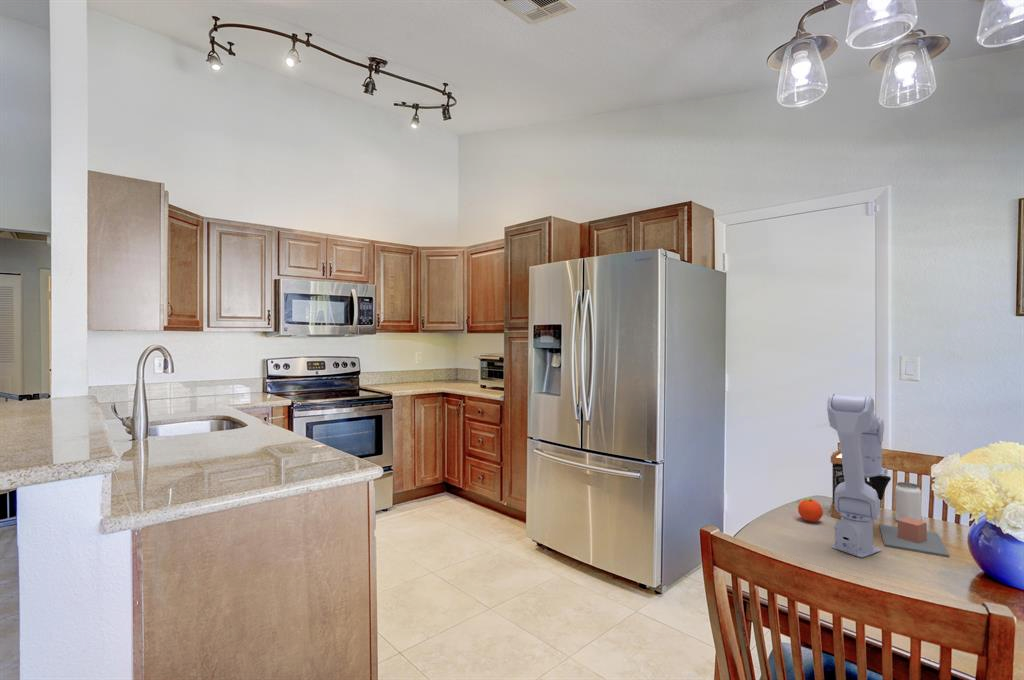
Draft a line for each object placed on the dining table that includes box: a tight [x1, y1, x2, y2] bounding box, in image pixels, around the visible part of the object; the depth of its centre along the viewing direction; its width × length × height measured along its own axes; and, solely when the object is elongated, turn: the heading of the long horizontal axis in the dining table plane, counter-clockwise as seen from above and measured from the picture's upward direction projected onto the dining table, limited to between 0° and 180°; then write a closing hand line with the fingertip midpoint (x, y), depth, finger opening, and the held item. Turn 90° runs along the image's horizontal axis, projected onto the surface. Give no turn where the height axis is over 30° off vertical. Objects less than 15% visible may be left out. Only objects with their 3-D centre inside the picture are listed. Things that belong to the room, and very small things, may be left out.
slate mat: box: [879, 523, 950, 558], centre depth 145 cm, size 18×14×1 cm
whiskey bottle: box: [830, 449, 868, 519], centre depth 166 cm, size 10×10×32 cm
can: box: [894, 481, 923, 522], centre depth 159 cm, size 6×6×12 cm
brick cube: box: [897, 517, 928, 543], centre depth 145 cm, size 5×5×5 cm
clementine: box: [796, 498, 824, 523], centre depth 162 cm, size 8×7×7 cm
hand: (870, 500), depth 152 cm, fingers open, 7 cm apart
